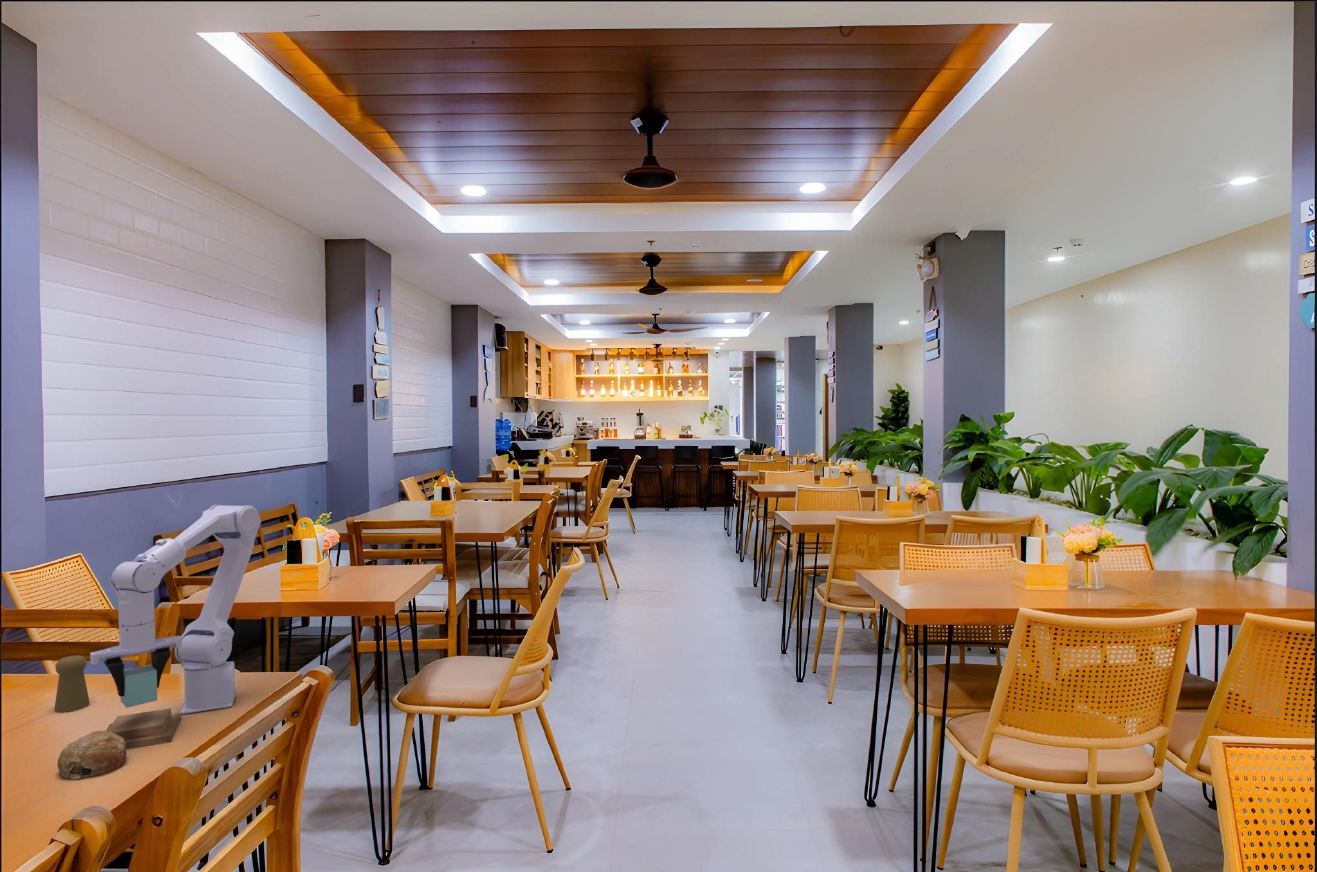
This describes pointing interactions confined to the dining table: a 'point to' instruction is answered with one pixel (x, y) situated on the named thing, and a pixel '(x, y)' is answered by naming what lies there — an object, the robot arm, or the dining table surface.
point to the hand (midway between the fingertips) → (138, 690)
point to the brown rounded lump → (92, 755)
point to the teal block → (139, 686)
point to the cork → (71, 684)
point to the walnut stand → (146, 727)
